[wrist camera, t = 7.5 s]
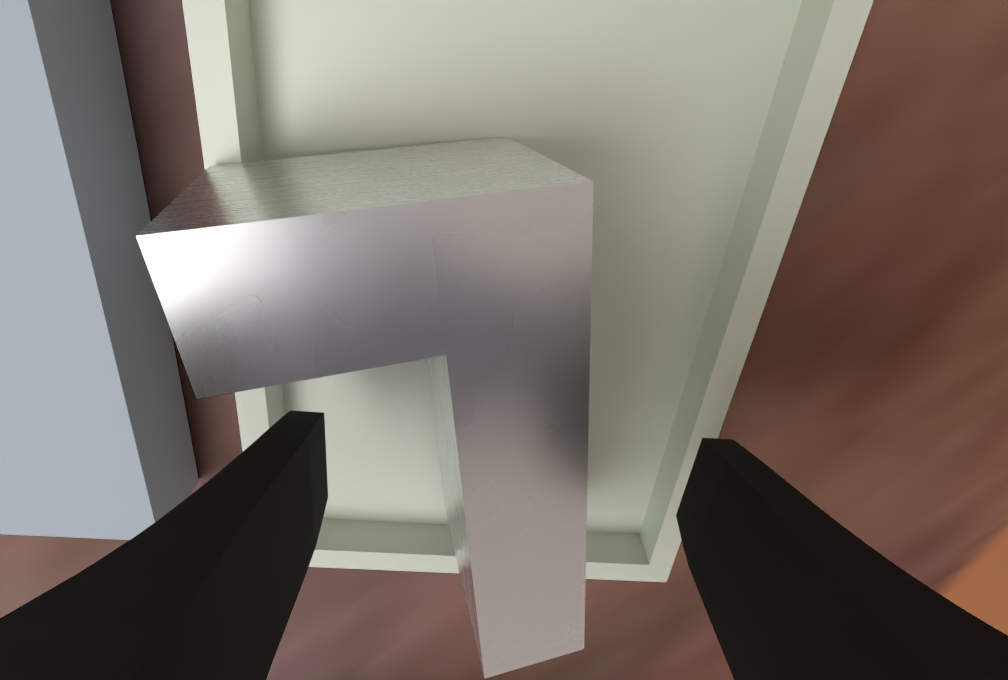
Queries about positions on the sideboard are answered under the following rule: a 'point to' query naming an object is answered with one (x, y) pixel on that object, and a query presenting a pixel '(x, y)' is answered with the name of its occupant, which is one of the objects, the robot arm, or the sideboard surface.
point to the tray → (616, 216)
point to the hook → (418, 336)
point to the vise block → (79, 291)
